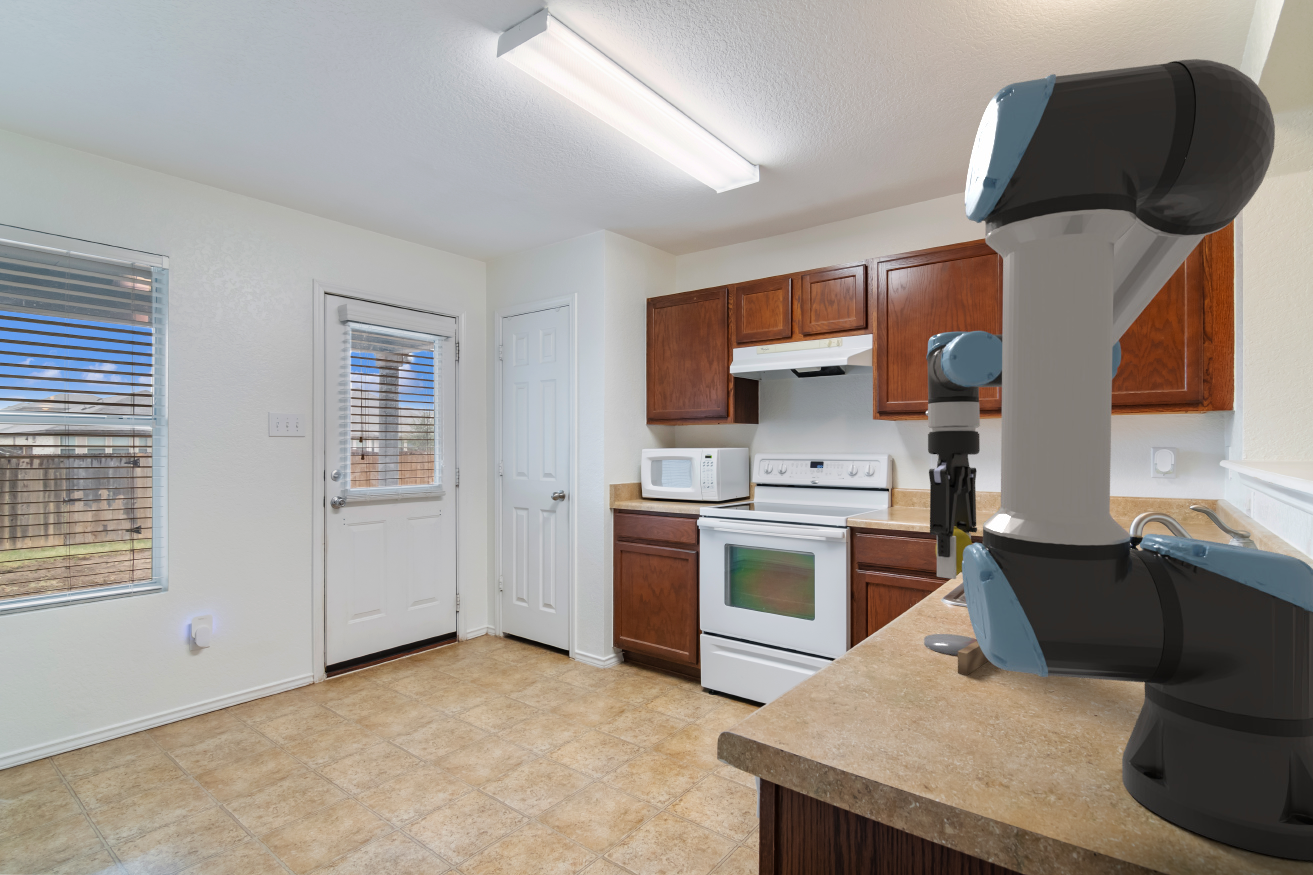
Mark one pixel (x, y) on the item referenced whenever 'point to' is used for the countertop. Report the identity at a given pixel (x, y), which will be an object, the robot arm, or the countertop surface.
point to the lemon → (959, 547)
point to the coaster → (947, 643)
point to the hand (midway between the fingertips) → (954, 574)
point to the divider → (970, 658)
